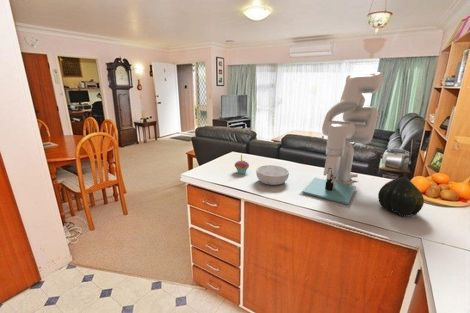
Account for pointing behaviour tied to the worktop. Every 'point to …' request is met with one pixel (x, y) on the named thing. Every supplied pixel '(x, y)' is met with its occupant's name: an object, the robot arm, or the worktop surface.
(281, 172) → the cereal bowl
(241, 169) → the cupcake
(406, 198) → the squash
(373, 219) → the worktop surface
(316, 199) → the mat
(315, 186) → the lid
